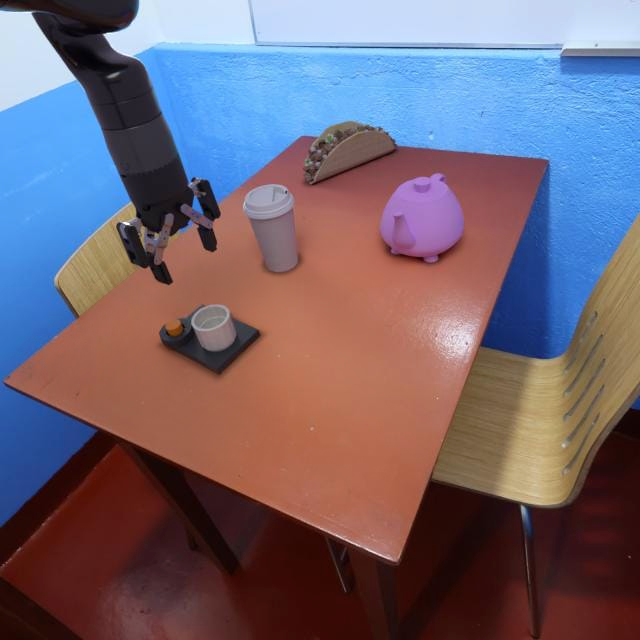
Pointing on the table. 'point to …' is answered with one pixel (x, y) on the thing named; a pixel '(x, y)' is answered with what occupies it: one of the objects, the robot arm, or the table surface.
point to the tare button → (174, 327)
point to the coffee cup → (273, 225)
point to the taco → (345, 149)
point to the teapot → (422, 218)
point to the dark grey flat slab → (209, 359)
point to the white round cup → (214, 327)
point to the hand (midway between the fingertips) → (189, 265)
